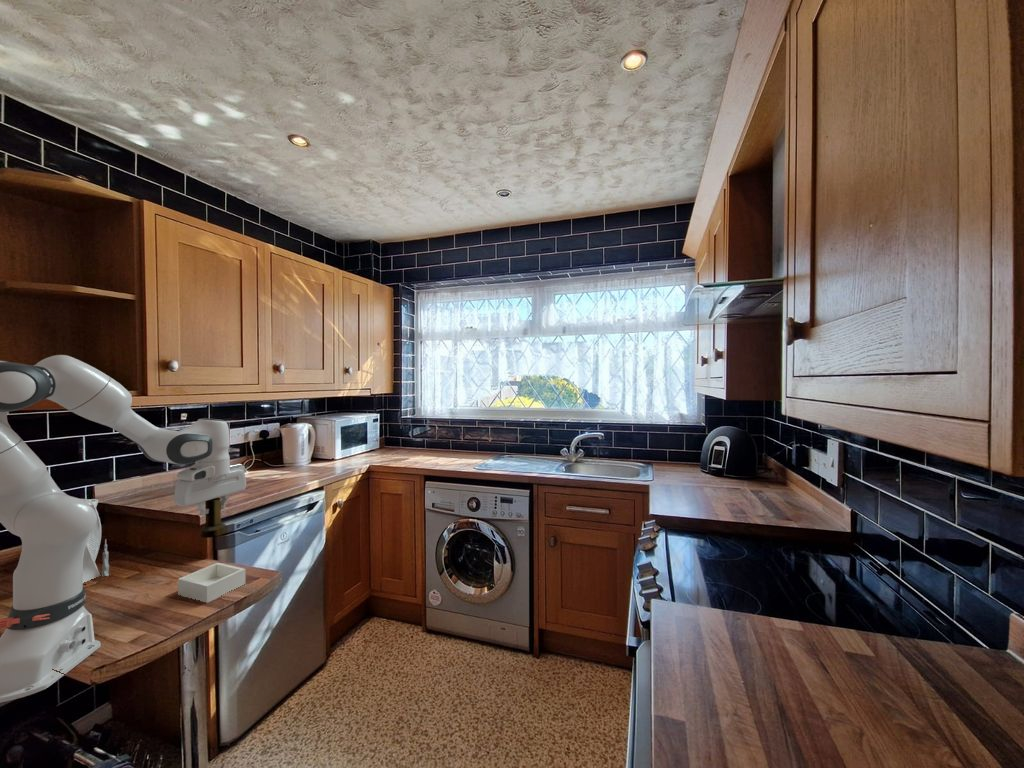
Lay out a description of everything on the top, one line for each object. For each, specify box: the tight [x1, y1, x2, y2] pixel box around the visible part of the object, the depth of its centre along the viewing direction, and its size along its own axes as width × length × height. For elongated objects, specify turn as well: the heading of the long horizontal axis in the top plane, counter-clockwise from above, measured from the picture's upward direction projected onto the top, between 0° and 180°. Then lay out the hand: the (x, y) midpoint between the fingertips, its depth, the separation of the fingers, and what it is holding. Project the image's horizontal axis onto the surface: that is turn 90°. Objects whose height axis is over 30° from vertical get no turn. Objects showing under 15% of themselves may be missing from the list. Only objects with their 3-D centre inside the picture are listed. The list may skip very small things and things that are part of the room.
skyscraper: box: [81, 498, 111, 583], centre depth 134 cm, size 8×8×28 cm
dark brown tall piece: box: [199, 482, 227, 539], centre depth 129 cm, size 7×6×18 cm
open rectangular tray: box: [177, 562, 246, 604], centre depth 129 cm, size 12×13×5 cm
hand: (213, 512), depth 129 cm, fingers closed on dark brown tall piece, 4 cm apart
